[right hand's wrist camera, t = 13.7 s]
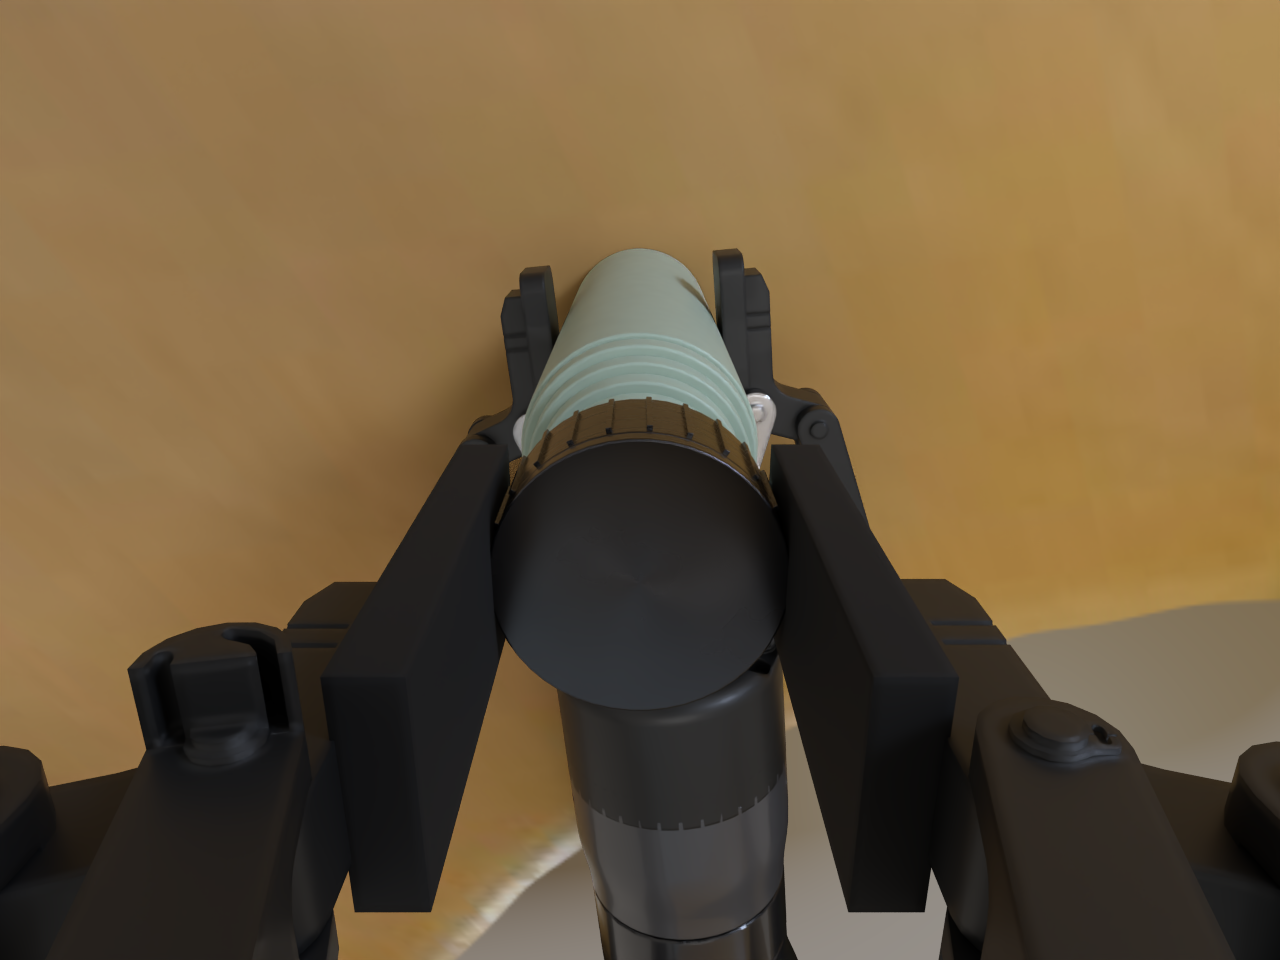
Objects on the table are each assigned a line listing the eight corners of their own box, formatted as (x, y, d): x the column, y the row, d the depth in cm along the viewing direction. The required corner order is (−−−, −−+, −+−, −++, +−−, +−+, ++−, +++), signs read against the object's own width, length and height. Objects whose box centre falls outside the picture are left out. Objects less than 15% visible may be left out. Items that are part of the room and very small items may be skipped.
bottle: (633, 219, 31) (622, 338, 12) (733, 309, 32) (874, 557, 13) (546, 322, 32) (406, 584, 13) (645, 406, 33) (653, 763, 14)
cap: (625, 336, 13) (623, 368, 11) (830, 513, 14) (860, 570, 12) (450, 537, 14) (422, 596, 12) (651, 687, 15) (653, 764, 13)
